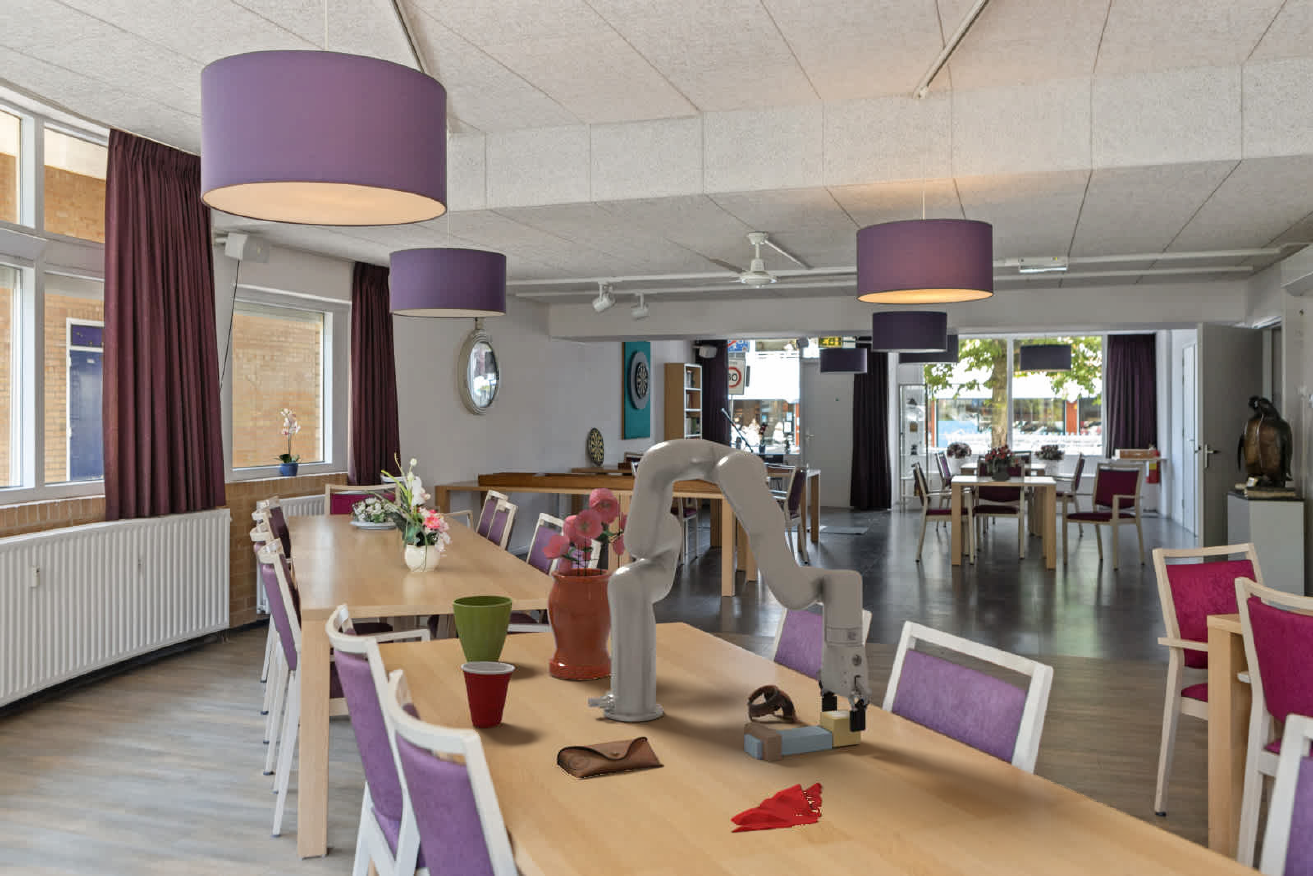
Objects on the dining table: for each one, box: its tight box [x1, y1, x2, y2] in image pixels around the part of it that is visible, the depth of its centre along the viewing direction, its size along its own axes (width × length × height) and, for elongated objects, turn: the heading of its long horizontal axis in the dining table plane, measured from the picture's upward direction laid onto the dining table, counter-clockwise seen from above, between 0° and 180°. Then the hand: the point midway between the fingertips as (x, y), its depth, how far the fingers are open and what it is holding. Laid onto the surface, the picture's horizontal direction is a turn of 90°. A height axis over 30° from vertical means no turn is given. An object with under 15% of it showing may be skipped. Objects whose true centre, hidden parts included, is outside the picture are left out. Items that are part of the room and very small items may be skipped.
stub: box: [819, 708, 862, 748], centre depth 193 cm, size 6×5×5 cm
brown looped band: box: [746, 684, 798, 724], centre depth 208 cm, size 12×10×8 cm
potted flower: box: [542, 487, 628, 681], centre depth 245 cm, size 19×25×45 cm
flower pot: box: [452, 595, 513, 663], centre depth 253 cm, size 15×15×16 cm
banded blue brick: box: [743, 721, 833, 762], centre depth 189 cm, size 16×9×4 cm, turn 112°
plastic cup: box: [460, 662, 516, 729], centre depth 203 cm, size 11×11×12 cm
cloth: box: [730, 782, 823, 833], centre depth 160 cm, size 26×14×2 cm, turn 128°
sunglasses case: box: [556, 736, 664, 779], centre depth 180 cm, size 18×7×7 cm, turn 117°
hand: (843, 724), depth 193 cm, fingers open, 9 cm apart
